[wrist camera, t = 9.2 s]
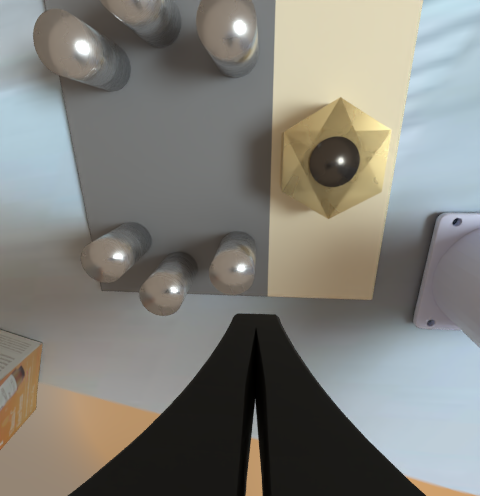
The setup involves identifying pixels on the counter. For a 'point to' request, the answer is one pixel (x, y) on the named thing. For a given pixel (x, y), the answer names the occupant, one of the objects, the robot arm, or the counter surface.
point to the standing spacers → (115, 78)
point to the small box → (17, 382)
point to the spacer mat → (240, 141)
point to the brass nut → (334, 158)
